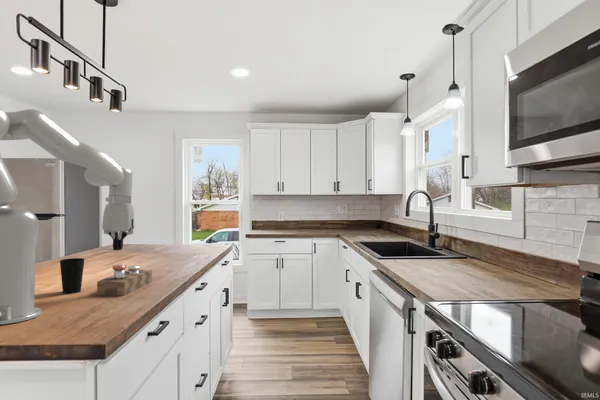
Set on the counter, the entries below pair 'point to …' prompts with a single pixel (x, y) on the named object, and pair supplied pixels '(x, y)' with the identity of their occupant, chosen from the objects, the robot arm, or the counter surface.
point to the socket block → (124, 283)
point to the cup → (71, 274)
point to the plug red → (119, 272)
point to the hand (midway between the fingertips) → (117, 249)
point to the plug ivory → (133, 269)
